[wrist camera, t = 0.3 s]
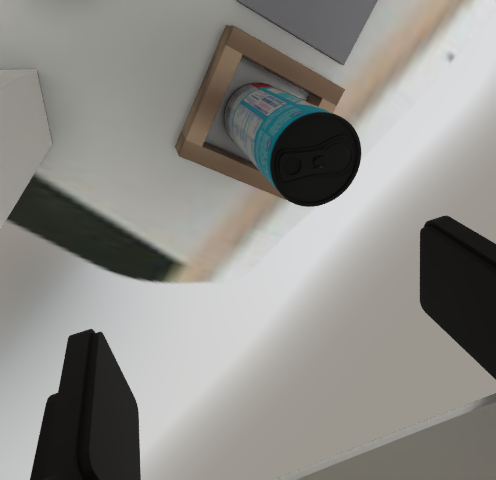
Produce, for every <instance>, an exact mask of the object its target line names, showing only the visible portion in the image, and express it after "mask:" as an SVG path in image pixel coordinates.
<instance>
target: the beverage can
mask: <svg viewBox="0 0 496 480" xmlns="http://www.w3.org/2000/svg"><path fill="white" fill-rule="evenodd" d="M224 122H225V127H226V130H227V132H228V135H229V136H230V138H231V139H232V140H233V141H234V142H235V143H236V145H237V146H238V147H239V148H240V149H241V150H242V151H243V152H244V154H245V155H246V156H247V157H248V158H249V159H250V160H251V162H252V163H253V164H254V165H255V166H256V167H257V168H258V169H259V171H260V172H261V173H262V174H263V175H264V176H265V177H266V178H267V179H268V181H269V182H270V183H271V184H272V185H273V186H274V187H275V188H276V189H277V190H278V191H279V192H280V194H281V195H282V196H283V197H284V198H286V199H287V200H288V201H290V202H292V203H294V204H297V205H300V206H307V207H308V206H319V205H322V204H325V203H328V202H330V201H332V200H333V199H335V198H337V197H338V196H339V195H341V194H342V193H343V192H344V191H345V190H346V189H347V188H348V187H349V185H350V184H351V183H352V181H353V179H354V177H355V176H356V173H357V171H358V168H359V165H360V160H361V145H360V141H359V137H358V135H357V133H356V131H355V129H354V128H353V127H352V125H351V124H350V123H349V122H348V121H346V120H345V119H343V118H342V117H340V116H338V115H335V114H333V113H331V112H328V111H326V110H324V109H322V108H320V107H318V106H315V105H313V104H311V103H309V102H307V101H304V100H302V99H300V98H297V97H295V96H293V95H291V94H288V93H286V92H284V91H281V90H279V89H277V88H274V87H272V86H270V85H268V84H264V83H251V84H248V85H245V86H243V87H241V88H240V89H238V90H237V91H236V92H235V93H234V94H233V95H232V97H231V98H230V99H229V101H228V104H227V106H226V109H225V116H224Z"/></svg>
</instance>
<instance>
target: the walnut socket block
mask: <svg viewBox="0 0 496 480" xmlns="http://www.w3.org/2000/svg"><path fill="white" fill-rule="evenodd" d="M242 56H243V57H244V58H246V59H248V60H250V61H252V62H254V63H255V64H257V65H259V66H261V67H263V68H265V69H266V70H268V71H270V72H272V73H274V74H275V75H277V76H279V77H281V78H283V79H285V80H286V81H288V82H290V83H292V84H294V85H296V86H297V87H299V88H301V89H303V90H305V91H307V92H308V93H310V94H309V96H308V98H307V100H306V101H307V102H309V103H311V104H313V105H315V106H318V107H320V108H322V109H324V110H326V111H328V112H331V113H333V111H334V109H335V107H336V105H337V104H338V102H339V100H340V98H341V96H342V94H343V92H344V90H345V89H343V88H341V87H340V86H338V85H336V84H334V83H333V82H331V81H329V80H328V79H326V78H324V77H322V76H321V75H319V74H317V73H315V72H314V71H312V70H310V69H308V68H307V67H305V66H303V65H301V64H300V63H298V62H296V61H295V60H293V59H291V58H289V57H288V56H286V55H284V54H282V53H281V52H279V51H277V50H275V49H274V48H272V47H270V46H268V45H267V44H265V43H263V42H262V41H260V40H258V39H256V38H255V37H253V36H251V35H249V34H248V33H246V32H244V31H242V30H241V29H239V28H237V27H236V26H226V28H225V30H224V32H223V35H222V37H221V39H220V42H219V44H218V47H217V49H216V51H215V54H214V56H213V58H212V61H211V63H210V66H209V68H208V70H207V73H206V75H205V77H204V80H203V82H202V85H201V87H200V89H199V92H198V94H197V97H196V99H195V101H194V104H193V106H192V108H191V111H190V113H189V116H188V118H187V120H186V123H185V125H184V127H183V130H182V132H181V135H180V137H179V139H178V142H177V144H176V146H175V147H176V150H177V152H178V155H179V156H180V157H183V158H185V159H188V160H190V161H193V162H195V163H198V164H200V165H202V166H205V167H207V168H210V169H212V170H215V171H217V172H220V173H222V174H224V175H227V176H229V177H232V178H234V179H237V180H239V181H242V182H244V183H246V184H249V185H251V186H254V187H256V188H259V189H261V190H264V191H266V192H269V193H271V194H273V195H276V196H278V197H281V198H283V199H286V198H284V197H283V196H282V195H281V194H280V192H279V191H278V190H277V189H276V188H275V187H274V186H273V185H272V184H271V183H270V182H269V181H268V179H267V178H266V177H265V176H264V175H263V174H262V173H261V172H260V171H259V169H258V168H257V167H256V166H255V165H254V164H253V163H252V162H251V161H248V160H246V159H244V158H241V157H239V156H237V155H234V154H232V153H230V152H228V151H225V150H223V149H221V148H218V147H216V146H214V145H211V144H209V143H207V142H205V139H206V137H207V134H208V132H209V130H210V128H211V125H212V123H213V121H214V118H215V116H216V114H217V112H218V109H219V107H220V105H221V103H222V100H223V98H224V96H225V94H226V91H227V89H228V87H229V85H230V82H231V80H232V78H233V76H234V73H235V71H236V69H237V66H238V64H239V62H240V60H241V57H242Z"/></svg>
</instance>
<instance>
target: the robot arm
mask: <svg viewBox="0 0 496 480" xmlns="http://www.w3.org/2000/svg"><path fill="white" fill-rule="evenodd" d="M420 303H421V306H422V308H423V310H424V311H425V312H426V313H427V314H428V315H429V316H430V317H431V318H432V319H433V320H434V321H435V322H436V323H437V324H438V325H439V326H440V327H441V328H442V329H443V330H445V331H446V332H447V333H448V334H449V335H450V336H451V337H452V338H453V339H454V340H455V341H456V342H457V343H458V344H459V345H460V346H461V347H462V348H463V349H465V350H466V352H468V353H469V354H470V355H471V356H472V357H473V358H474V359H475V360H476V361H477V362H478V363H479V364H480V365H481V366H482V367H483V368H485V370H486V371H488V373H490V374H491V375H492V376H493V377H494V378H495V379H496V244H495V243H493V242H491V241H489V240H488V239H486V238H485V237H483V236H481V235H479V234H478V233H476V232H474V231H473V230H471V229H469V228H468V227H466V226H464V225H463V224H461V223H459V222H457V221H456V220H454V219H452V218H451V217H449V216H442V217H439V218H436V219H433V220H430V221H427V222H426V224H425V225H424V228H422V229H421V232H420ZM30 480H140V449H139V418H138V407H137V403H136V400H135V398H134V396H133V394H132V392H131V390H130V387H129V385H128V384H127V381H126V380H125V378H124V375H123V373H122V372H121V369H120V367H119V365H118V363H117V361H116V359H115V357H114V355H113V353H112V351H111V349H110V347H109V345H108V343H107V341H106V339H105V337H104V335H103V333H102V332H98V333H95V332H94V331H93V330H92V329H89V330H86V331H83V332H80V333H77V334H74V335H70V336H69V338H68V343H67V348H66V354H65V359H64V364H63V370H62V376H61V380H60V386H59V391H58V393H56V394H53V395H51V396H50V397H49V398H48V400H47V403H46V407H45V412H44V416H43V421H42V426H41V431H40V435H39V440H38V445H37V450H36V454H35V459H34V464H33V469H32V473H31V478H30ZM273 480H496V393H495V394H493V395H490V396H488V397H485V398H482V399H480V400H477V401H474V402H472V403H469V404H467V405H464V406H461V407H459V408H456V409H453V410H451V411H449V412H445V413H443V414H440V415H438V416H435V417H433V418H430V419H427V420H425V421H422V422H419V423H417V424H414V425H412V426H409V427H406V428H404V429H401V430H399V431H396V432H394V433H391V434H388V435H386V436H384V437H381V438H378V439H375V440H373V441H371V442H368V443H365V444H363V445H360V446H358V447H355V448H352V449H350V450H347V451H345V452H342V453H339V454H337V455H334V456H332V457H329V458H326V459H324V460H321V461H319V462H316V463H314V464H311V465H309V466H307V467H304V468H301V469H299V470H296V471H293V472H291V473H288V474H286V475H283V476H281V477H278V478H276V479H273Z"/></svg>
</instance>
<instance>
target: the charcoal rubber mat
mask: <svg viewBox="0 0 496 480" xmlns="http://www.w3.org/2000/svg"><path fill="white" fill-rule="evenodd" d="M237 1H238V2H239V3H241V4H243V5H244V6H246V7H248V8H249V9H251V10H253V11H254V12H256V13H258V14H259V15H261V16H263V17H264V18H266V19H267V20H269V21H271V22H272V23H274V24H276V25H277V26H279V27H281V28H282V29H284V30H286V31H287V32H289V33H291V34H292V35H294V36H296V37H297V38H299V39H301V40H302V41H304V42H306V43H307V44H309V45H310V46H312V47H314V48H315V49H317V50H319V51H320V52H322V53H324V54H325V55H327V56H329V57H330V58H332V59H334V60H335V61H337V62H339V63H340V64H343V65H344V64H345V62H346V60H347V58H348V56H349V54H350V52H351V50H352V48H353V46H354V44H355V43H356V41H357V39H358V37H359V35H360V33H361V31H362V29H363V27H364V25H365V23H366V22H367V20H368V18H369V16H370V14H371V12H372V10H373V8H374V6H375V4H376V2H377V0H237Z"/></svg>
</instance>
